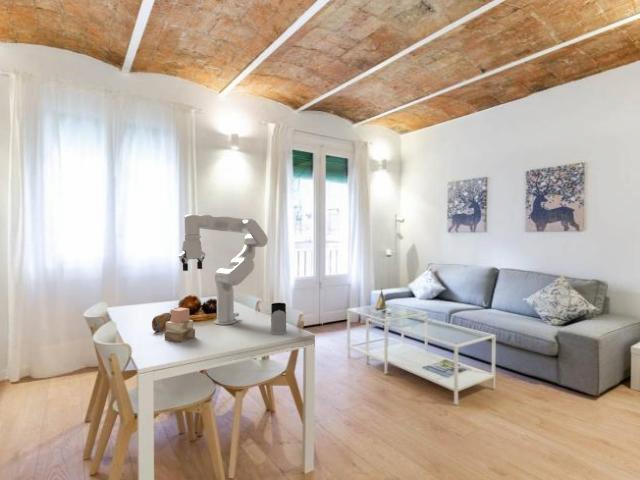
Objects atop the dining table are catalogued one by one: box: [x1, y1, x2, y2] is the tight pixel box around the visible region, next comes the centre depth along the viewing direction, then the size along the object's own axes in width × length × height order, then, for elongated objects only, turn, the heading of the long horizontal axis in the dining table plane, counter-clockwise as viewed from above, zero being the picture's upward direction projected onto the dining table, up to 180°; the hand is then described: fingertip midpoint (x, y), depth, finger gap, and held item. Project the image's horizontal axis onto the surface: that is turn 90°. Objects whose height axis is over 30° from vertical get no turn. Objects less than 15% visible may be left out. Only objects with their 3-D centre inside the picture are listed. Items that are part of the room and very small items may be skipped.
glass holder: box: [269, 302, 288, 336], centre depth 200 cm, size 9×14×15 cm, turn 9°
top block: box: [165, 319, 194, 334], centre depth 187 cm, size 9×9×4 cm
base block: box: [164, 328, 196, 344], centre depth 187 cm, size 10×10×4 cm
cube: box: [170, 307, 190, 323], centre depth 187 cm, size 6×6×6 cm
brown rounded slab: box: [151, 312, 171, 333], centre depth 204 cm, size 15×3×8 cm, turn 168°
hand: (192, 269), depth 202 cm, fingers open, 9 cm apart
